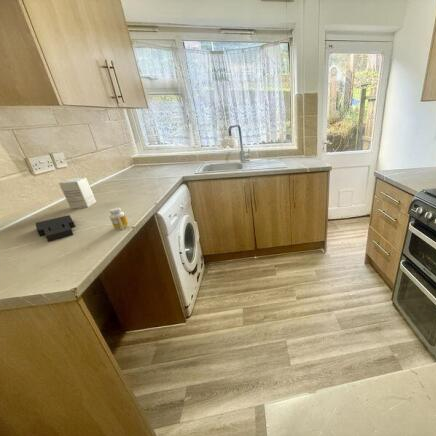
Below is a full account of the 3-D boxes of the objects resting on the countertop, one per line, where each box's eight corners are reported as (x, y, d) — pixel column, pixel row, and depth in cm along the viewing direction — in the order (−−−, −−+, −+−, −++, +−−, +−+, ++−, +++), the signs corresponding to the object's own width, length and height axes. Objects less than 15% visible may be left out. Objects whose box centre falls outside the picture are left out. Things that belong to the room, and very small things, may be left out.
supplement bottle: (127, 225, 112) (120, 205, 108) (130, 228, 108) (123, 208, 104) (114, 229, 109) (106, 209, 105) (116, 233, 105) (108, 212, 101)
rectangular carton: (80, 203, 142) (68, 178, 135) (96, 201, 143) (86, 177, 137) (70, 209, 134) (57, 183, 127) (88, 207, 135) (76, 181, 129)
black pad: (46, 235, 105) (43, 228, 104) (70, 228, 110) (67, 222, 109) (48, 242, 99) (45, 236, 97) (73, 235, 104) (71, 229, 103)
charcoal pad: (38, 228, 111) (35, 222, 110) (71, 220, 119) (69, 214, 118) (40, 239, 101) (37, 233, 100) (77, 230, 109) (74, 224, 108)
